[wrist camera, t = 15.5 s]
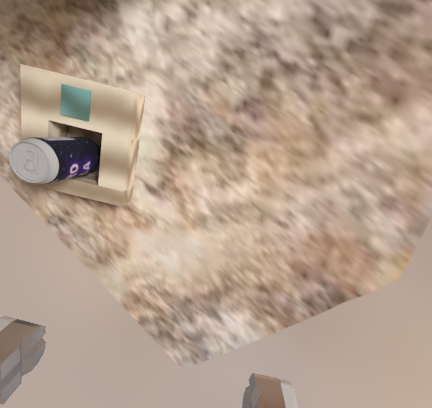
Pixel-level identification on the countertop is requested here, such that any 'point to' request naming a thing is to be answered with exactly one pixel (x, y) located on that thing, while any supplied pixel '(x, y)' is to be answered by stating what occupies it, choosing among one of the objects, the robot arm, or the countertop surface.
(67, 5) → the countertop surface
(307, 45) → the countertop surface
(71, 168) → the beverage can
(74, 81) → the socket board
